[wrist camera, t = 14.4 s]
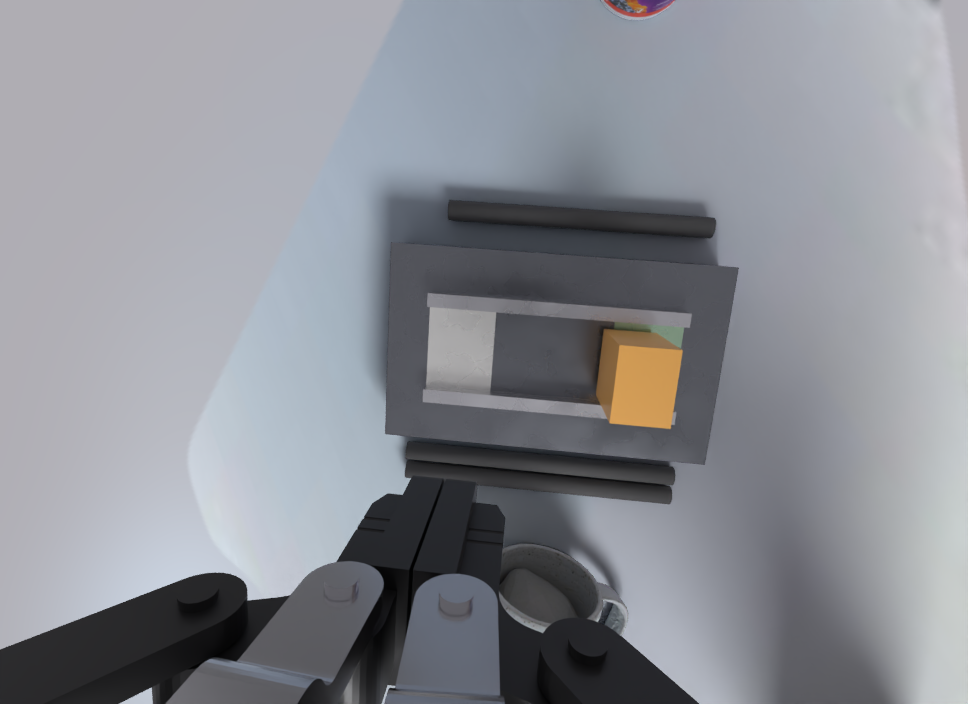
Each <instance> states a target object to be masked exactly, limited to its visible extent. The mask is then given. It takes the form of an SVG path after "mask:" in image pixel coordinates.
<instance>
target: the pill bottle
mask: <svg viewBox="0 0 968 704" xmlns="http://www.w3.org/2000/svg"><path fill="white" fill-rule="evenodd" d="M674 1H675V0H601V2H602V3H603V4H604V6H605V7H606V8H607V9H608V10H610V11H611V12H612V13H614V14H615V15H617V16H619V17H621V18H624V19H628V20H645V19H649V18H652V17H654V16H656V15H658V14H660V13H662V12H663V11H665V10H666V9H667V8H668V7H670V6H671V5H672V4H673V3H674Z"/></svg>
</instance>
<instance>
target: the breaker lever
mask: <svg viewBox="0 0 968 704" xmlns="http://www.w3.org/2000/svg"><path fill="white" fill-rule="evenodd" d="M682 353H683V350H682V349H680V348H679V347H677V346H675V345H674V344H672V343H671V342H669V341H668V340H666V339H665V338H663V337H662V336H660V335H659V334H657V333H651V332H639V331H626V330H614V329H604V331H603V340H602V348H601V356H600V364H599V373H598V381H597V389H596V396H597V398H598V400H599V402H600V405H601V407H602V409H603V411H604V413H605V415H606V417H607V419H608V421H609V423H611V424H622V425H632V426H643V427H654V428H665V429H671V423H672V417H673V410H674V404H675V398H676V391H677V385H678V378H679V372H680V365H681V359H682Z"/></svg>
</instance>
